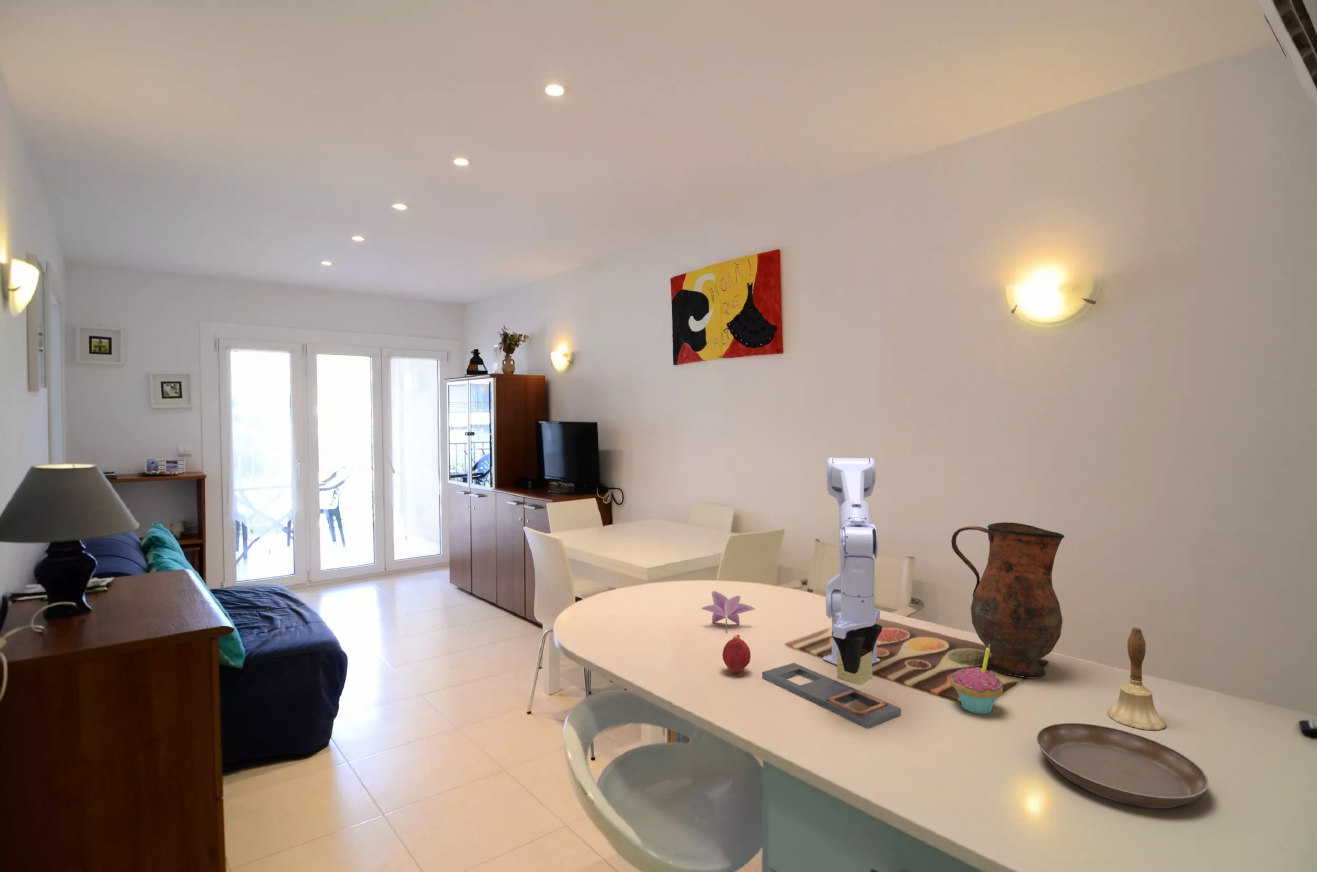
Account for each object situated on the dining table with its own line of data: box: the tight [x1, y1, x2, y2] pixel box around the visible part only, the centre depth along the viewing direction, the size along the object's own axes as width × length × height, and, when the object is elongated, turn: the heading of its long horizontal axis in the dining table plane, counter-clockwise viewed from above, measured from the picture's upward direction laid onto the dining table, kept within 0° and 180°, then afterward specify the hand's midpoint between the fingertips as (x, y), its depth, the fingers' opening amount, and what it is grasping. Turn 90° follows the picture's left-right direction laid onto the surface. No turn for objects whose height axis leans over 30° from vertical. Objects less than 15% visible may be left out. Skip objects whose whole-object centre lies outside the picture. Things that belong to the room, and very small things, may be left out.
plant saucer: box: [1036, 722, 1209, 809], centre depth 97 cm, size 21×21×3 cm
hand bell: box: [1106, 627, 1167, 731], centre depth 115 cm, size 8×8×16 cm
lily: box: [701, 590, 755, 634], centre depth 164 cm, size 12×12×10 cm
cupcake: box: [949, 644, 1004, 715], centre depth 119 cm, size 9×8×12 cm
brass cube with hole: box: [836, 648, 873, 687], centre depth 119 cm, size 4×4×5 cm
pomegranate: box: [722, 633, 752, 674], centre depth 136 cm, size 6×6×8 cm
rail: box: [761, 662, 902, 729], centre depth 125 cm, size 9×26×1 cm, turn 34°
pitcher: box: [950, 521, 1065, 678], centre depth 139 cm, size 17×21×30 cm
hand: (857, 667), depth 119 cm, fingers closed on brass cube with hole, 4 cm apart
